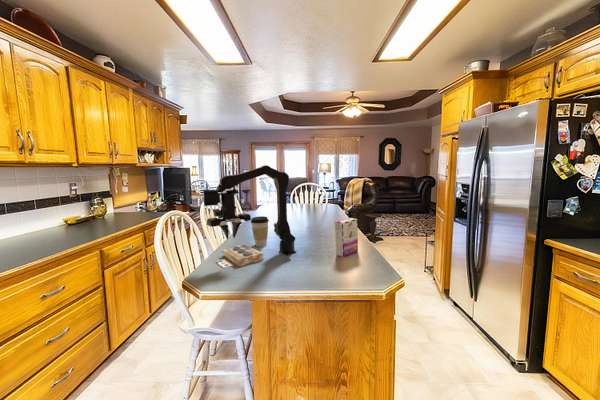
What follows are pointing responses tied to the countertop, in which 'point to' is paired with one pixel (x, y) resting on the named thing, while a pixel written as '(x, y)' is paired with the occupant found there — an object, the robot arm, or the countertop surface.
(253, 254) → the button board
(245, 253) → the button
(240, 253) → the button middle
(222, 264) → the card
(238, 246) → the button
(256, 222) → the coffee cup
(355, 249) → the candy bar box
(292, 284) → the countertop surface
